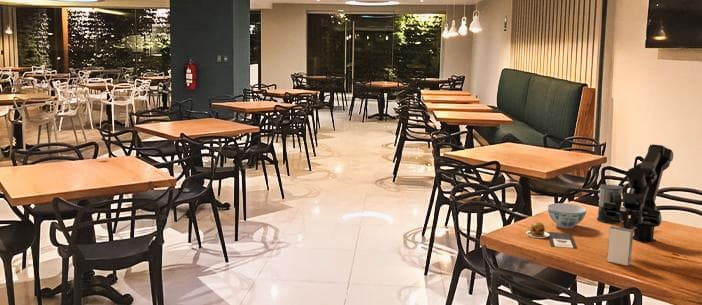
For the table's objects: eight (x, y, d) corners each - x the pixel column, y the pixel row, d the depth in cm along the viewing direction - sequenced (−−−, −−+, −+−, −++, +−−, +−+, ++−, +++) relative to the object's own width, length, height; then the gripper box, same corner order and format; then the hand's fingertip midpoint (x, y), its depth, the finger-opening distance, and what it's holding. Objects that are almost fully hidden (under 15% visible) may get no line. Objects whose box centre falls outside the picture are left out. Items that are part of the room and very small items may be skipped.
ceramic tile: (608, 259, 220) (611, 226, 218) (630, 264, 216) (633, 229, 214) (606, 261, 218) (609, 227, 216) (628, 266, 214) (631, 231, 212)
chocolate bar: (571, 233, 249) (576, 247, 232) (571, 235, 249) (576, 250, 232) (547, 231, 251) (551, 245, 234) (547, 233, 251) (550, 248, 234)
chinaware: (580, 233, 250) (582, 214, 248) (541, 227, 257) (543, 209, 256) (588, 224, 262) (590, 206, 261) (551, 219, 270) (552, 201, 269)
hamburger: (550, 243, 239) (551, 229, 238) (517, 238, 245) (518, 224, 244) (556, 235, 249) (557, 221, 248) (525, 230, 255) (526, 216, 254)
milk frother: (592, 218, 273) (594, 184, 270) (623, 216, 277) (626, 182, 274) (613, 227, 259) (616, 192, 257) (646, 225, 263) (650, 190, 261)
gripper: (606, 179, 228) (593, 215, 221) (663, 187, 216) (651, 225, 209) (610, 197, 235) (599, 232, 228) (666, 205, 224) (655, 243, 217)
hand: (625, 233), depth 220 cm, fingers closed
